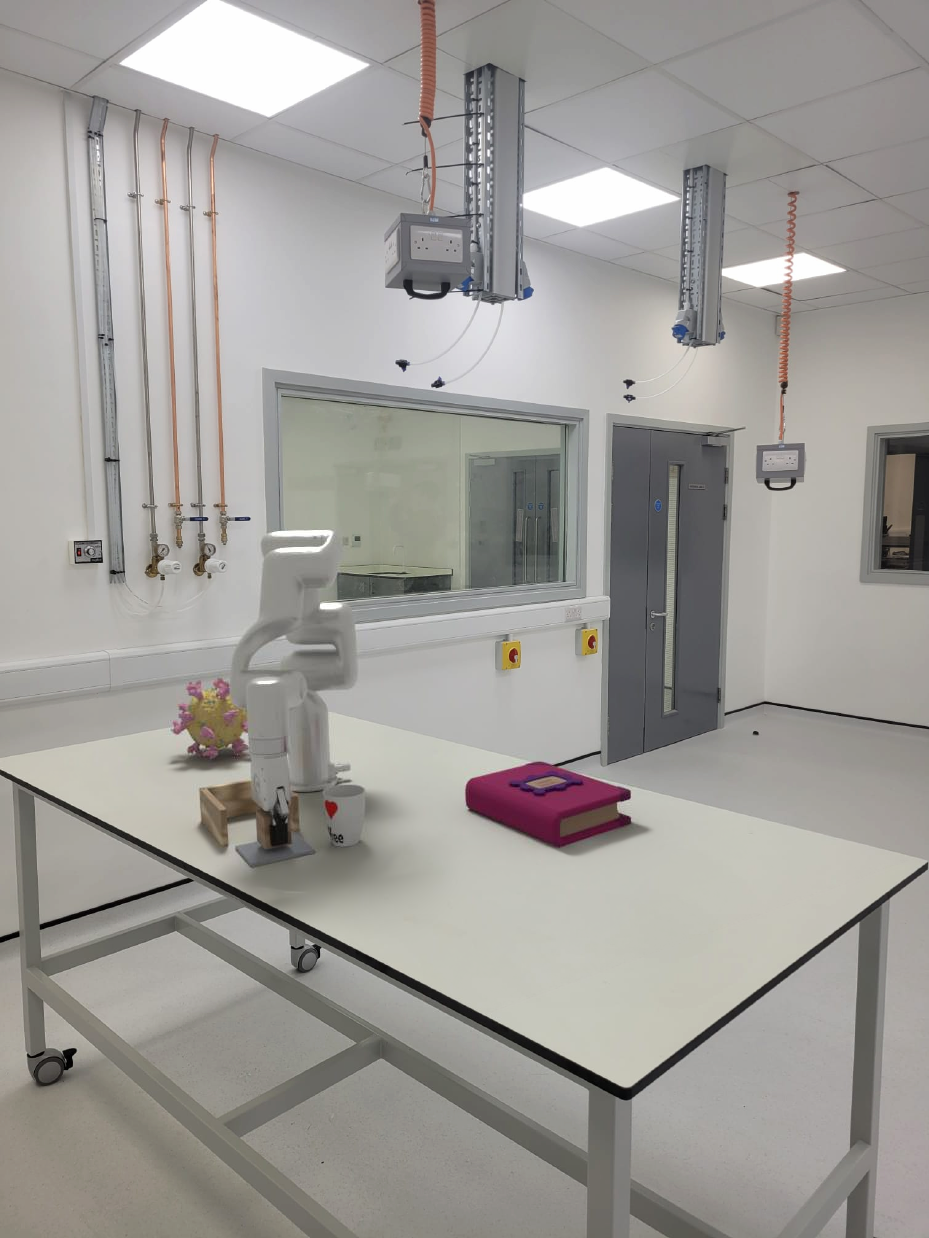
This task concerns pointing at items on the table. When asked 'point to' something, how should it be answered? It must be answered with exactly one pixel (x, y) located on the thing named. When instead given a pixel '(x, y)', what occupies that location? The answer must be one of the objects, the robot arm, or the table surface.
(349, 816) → the cup
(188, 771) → the table surface
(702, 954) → the table surface
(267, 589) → the robot arm
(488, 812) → the book
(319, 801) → the table surface
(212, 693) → the educational model
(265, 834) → the block
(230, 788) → the oak u-shaped frame
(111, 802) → the table surface
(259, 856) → the mat
